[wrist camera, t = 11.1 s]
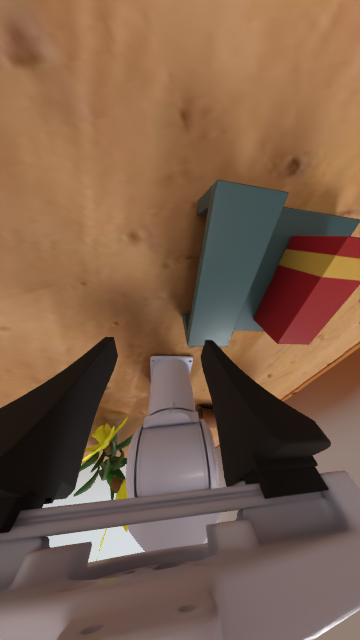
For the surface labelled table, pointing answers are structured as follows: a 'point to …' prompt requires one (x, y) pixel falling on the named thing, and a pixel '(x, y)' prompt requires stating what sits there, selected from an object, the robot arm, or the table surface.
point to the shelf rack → (245, 255)
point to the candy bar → (309, 287)
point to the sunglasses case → (207, 416)
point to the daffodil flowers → (107, 462)
